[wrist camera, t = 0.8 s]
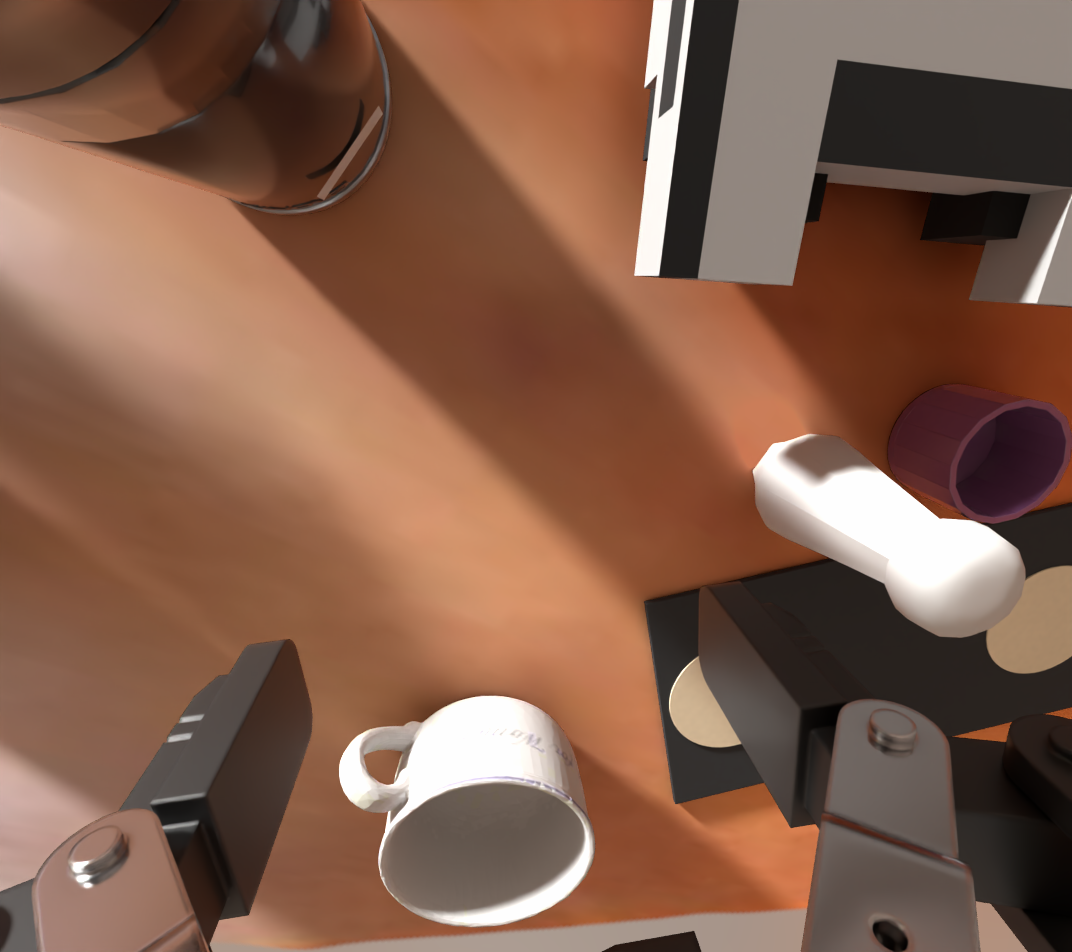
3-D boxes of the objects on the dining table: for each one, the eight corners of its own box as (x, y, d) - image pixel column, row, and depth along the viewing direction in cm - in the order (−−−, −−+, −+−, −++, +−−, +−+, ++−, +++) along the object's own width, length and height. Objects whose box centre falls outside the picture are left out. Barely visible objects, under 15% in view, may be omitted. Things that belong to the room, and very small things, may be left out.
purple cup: (888, 396, 31) (953, 415, 27) (998, 372, 31) (1080, 387, 27) (886, 502, 33) (946, 535, 29) (988, 478, 34) (1064, 507, 29)
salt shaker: (716, 490, 32) (868, 624, 20) (781, 403, 31) (987, 489, 18) (792, 538, 33) (977, 689, 21) (857, 456, 32) (1094, 568, 20)
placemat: (644, 601, 34) (646, 605, 33) (1123, 490, 35) (1132, 493, 34) (673, 799, 39) (675, 806, 39) (1087, 698, 40) (1094, 703, 40)
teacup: (604, 737, 37) (639, 855, 29) (479, 832, 38) (482, 968, 31) (451, 602, 32) (446, 701, 25) (317, 716, 34) (274, 841, 26)
